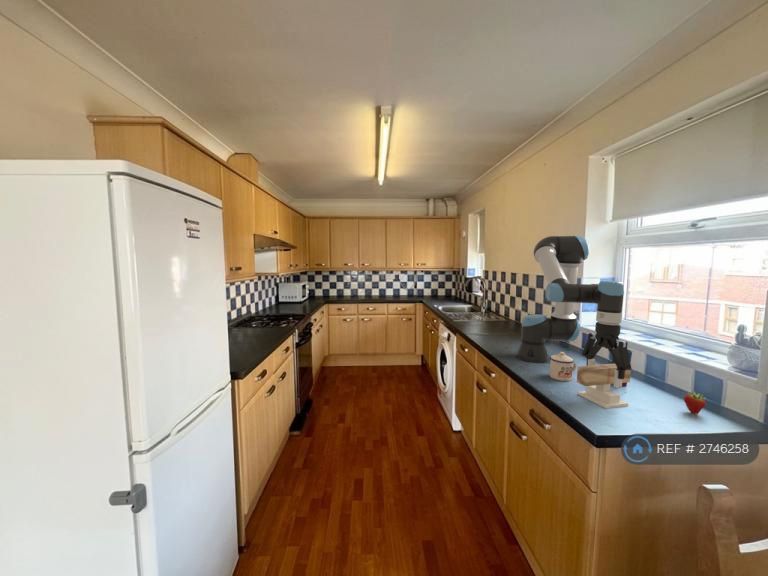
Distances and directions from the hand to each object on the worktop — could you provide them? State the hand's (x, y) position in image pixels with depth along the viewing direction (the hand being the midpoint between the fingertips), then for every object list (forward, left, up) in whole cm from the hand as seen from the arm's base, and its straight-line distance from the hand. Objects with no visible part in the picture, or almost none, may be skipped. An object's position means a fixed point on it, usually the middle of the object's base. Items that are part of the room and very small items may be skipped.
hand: (603, 380), depth 116 cm
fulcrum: (0, 0, -7) cm, 7 cm away
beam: (0, 0, 0) cm, 0 cm away
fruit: (+15, +22, -8) cm, 28 cm away
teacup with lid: (-22, +3, -8) cm, 23 cm away
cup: (-11, +21, -8) cm, 25 cm away
